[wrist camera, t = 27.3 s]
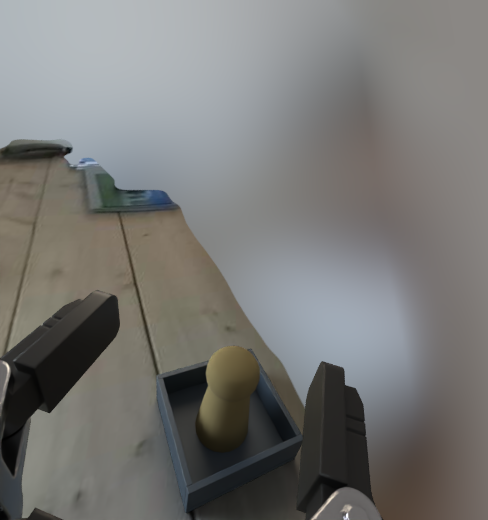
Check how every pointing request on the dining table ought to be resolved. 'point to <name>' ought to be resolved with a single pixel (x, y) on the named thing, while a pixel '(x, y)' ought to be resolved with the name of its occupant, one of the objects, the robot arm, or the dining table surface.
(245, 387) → the cork
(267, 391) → the square tray
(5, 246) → the dining table surface
